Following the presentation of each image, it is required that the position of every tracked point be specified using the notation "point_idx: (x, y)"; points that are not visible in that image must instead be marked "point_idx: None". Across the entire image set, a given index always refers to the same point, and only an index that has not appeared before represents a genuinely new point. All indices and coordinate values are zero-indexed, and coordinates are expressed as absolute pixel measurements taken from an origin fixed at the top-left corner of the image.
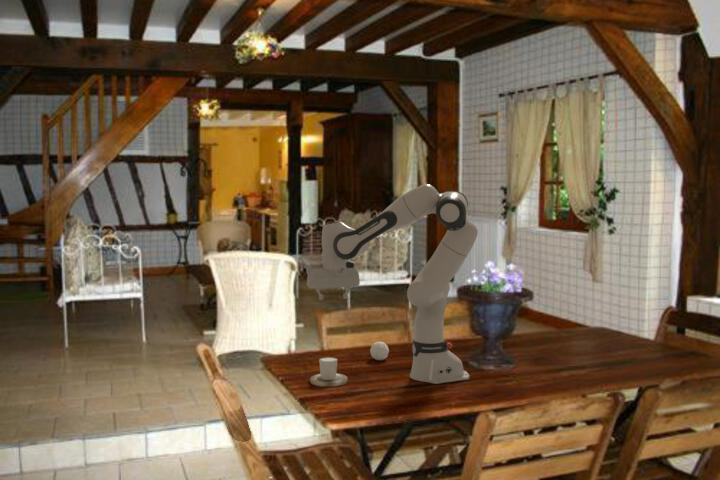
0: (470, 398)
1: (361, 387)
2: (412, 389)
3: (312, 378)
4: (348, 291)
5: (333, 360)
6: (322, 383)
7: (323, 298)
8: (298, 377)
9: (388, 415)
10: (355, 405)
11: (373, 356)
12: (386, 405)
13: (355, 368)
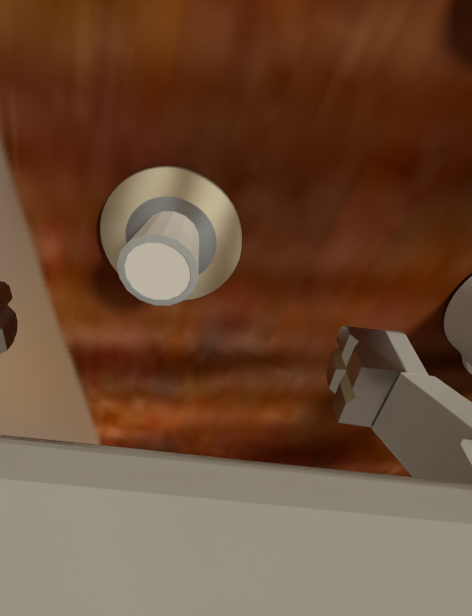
0: None
1: (255, 326)
2: None
3: (110, 223)
4: (425, 476)
5: (176, 290)
6: None
7: (9, 344)
8: (61, 139)
9: None
10: (190, 427)
11: None
12: (256, 444)
13: (345, 88)
